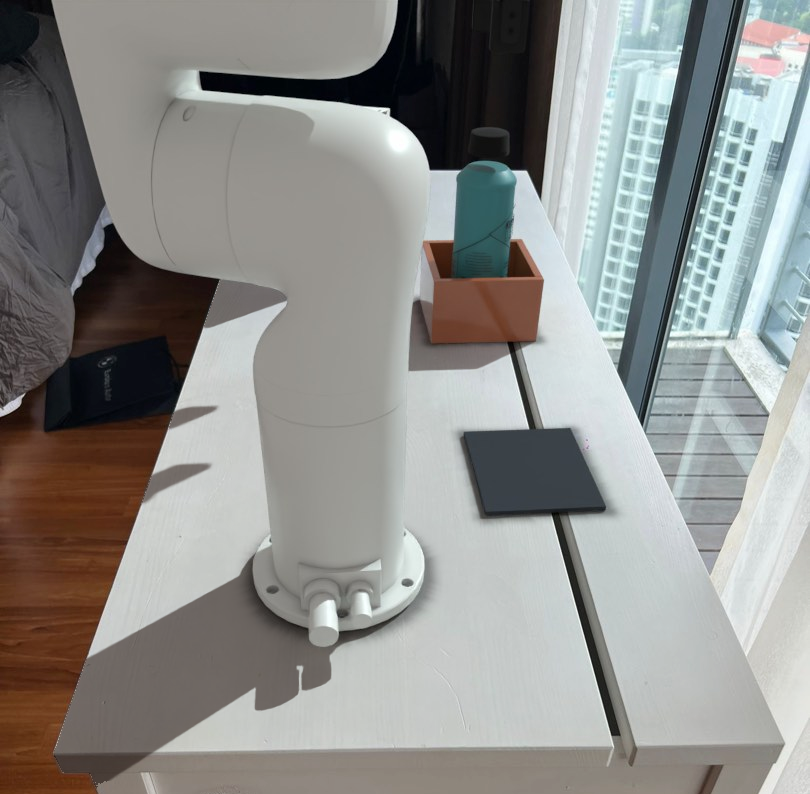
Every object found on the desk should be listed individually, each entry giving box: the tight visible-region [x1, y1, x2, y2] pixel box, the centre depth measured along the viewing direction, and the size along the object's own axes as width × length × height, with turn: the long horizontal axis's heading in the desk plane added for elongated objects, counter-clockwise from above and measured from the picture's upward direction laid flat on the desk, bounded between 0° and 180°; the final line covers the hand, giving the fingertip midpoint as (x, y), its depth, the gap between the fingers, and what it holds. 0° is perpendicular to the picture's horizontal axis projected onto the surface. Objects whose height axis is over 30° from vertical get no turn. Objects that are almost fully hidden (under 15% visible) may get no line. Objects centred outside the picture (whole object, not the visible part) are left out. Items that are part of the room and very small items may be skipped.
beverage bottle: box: [450, 126, 518, 279], centre depth 89 cm, size 6×7×20 cm
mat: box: [463, 427, 607, 516], centre depth 73 cm, size 12×10×1 cm
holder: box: [419, 238, 545, 345], centre depth 94 cm, size 12×12×7 cm
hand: (497, 41), depth 78 cm, fingers open, 9 cm apart
